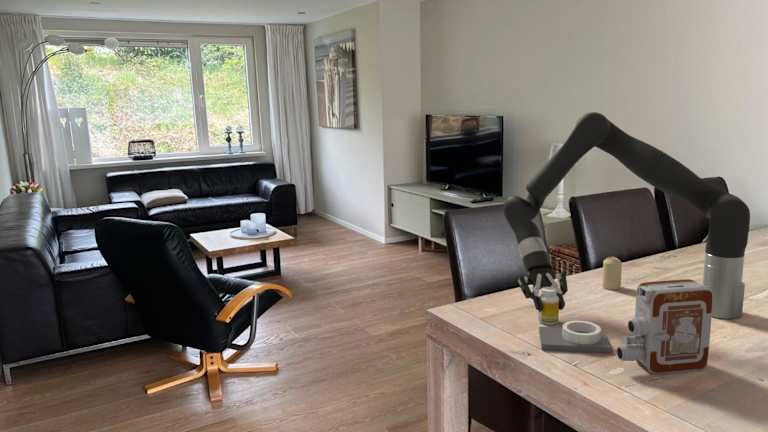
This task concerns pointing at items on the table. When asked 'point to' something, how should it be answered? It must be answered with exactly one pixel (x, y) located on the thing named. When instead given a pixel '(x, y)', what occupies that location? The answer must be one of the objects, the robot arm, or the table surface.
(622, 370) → the table surface
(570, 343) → the mount plate
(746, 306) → the table surface
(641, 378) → the table surface
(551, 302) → the supplement bottle
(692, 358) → the cine camera
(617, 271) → the candle
